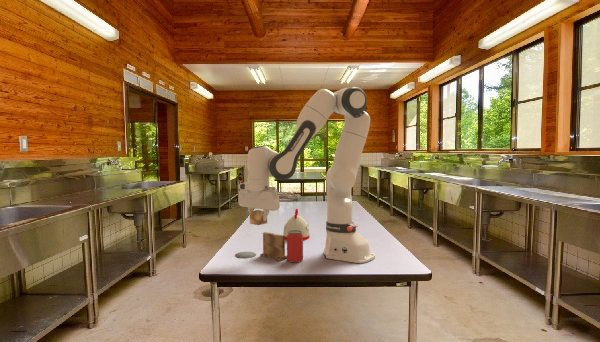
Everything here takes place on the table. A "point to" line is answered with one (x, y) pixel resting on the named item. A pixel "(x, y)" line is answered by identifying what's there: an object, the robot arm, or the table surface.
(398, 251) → the table surface
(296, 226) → the kitchen timer
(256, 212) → the letter cube
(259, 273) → the table surface
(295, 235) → the beer can
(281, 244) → the screen
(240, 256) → the slate mat
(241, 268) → the table surface
